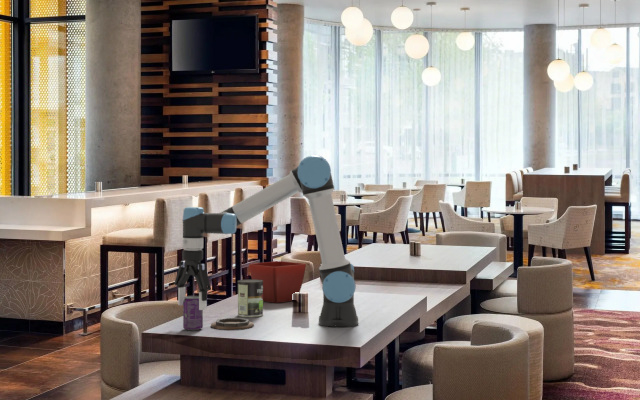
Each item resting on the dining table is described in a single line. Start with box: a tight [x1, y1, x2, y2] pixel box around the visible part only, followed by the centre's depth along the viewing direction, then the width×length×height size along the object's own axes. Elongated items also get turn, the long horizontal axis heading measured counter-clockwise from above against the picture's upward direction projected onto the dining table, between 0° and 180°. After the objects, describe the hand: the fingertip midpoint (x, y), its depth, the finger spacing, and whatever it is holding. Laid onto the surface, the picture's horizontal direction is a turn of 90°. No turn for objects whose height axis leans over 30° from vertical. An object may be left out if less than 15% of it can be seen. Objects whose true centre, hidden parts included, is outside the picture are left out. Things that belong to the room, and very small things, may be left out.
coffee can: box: [237, 278, 264, 318], centre depth 337 cm, size 10×10×14 cm
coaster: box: [210, 317, 255, 331], centre depth 312 cm, size 16×16×2 cm
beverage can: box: [182, 295, 204, 332], centre depth 305 cm, size 7×7×12 cm
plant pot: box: [248, 260, 307, 304], centre depth 377 cm, size 19×19×17 cm
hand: (192, 307), depth 305 cm, fingers open, 13 cm apart
